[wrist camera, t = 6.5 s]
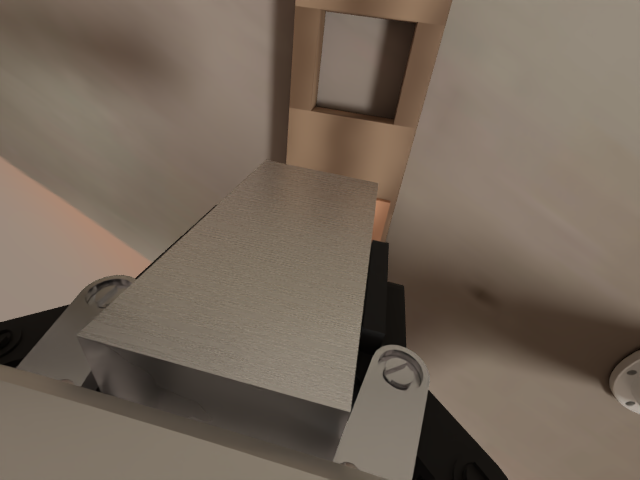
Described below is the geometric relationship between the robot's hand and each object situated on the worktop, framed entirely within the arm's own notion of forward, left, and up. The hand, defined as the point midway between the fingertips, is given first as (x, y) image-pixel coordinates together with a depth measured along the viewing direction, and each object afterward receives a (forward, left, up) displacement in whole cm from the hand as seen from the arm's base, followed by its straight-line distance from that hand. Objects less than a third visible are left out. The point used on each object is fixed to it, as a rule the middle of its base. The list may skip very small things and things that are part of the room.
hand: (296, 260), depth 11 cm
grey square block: (0, 0, -3) cm, 3 cm away
